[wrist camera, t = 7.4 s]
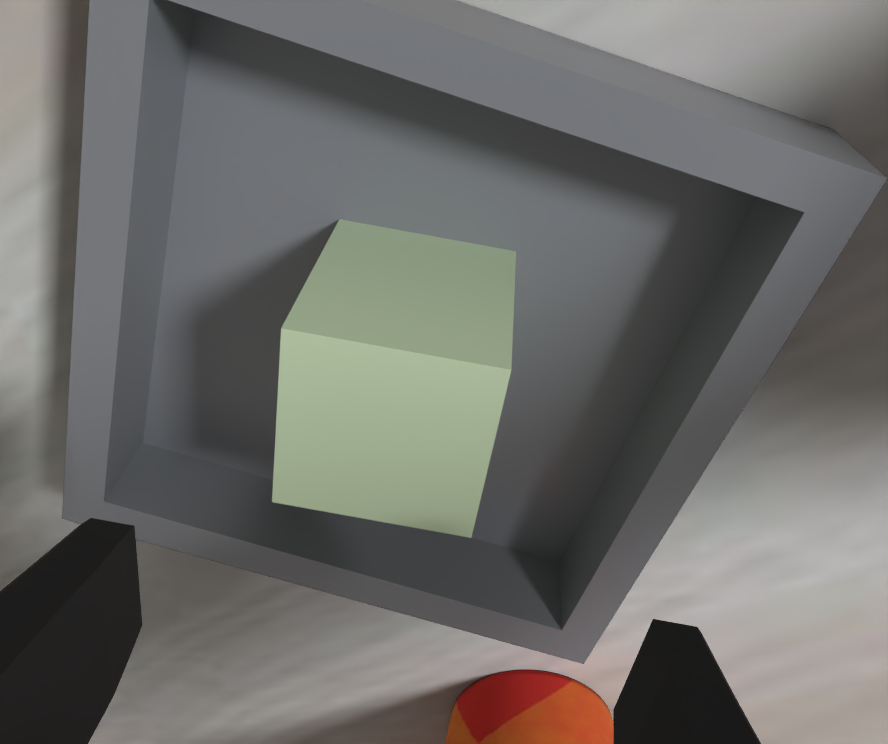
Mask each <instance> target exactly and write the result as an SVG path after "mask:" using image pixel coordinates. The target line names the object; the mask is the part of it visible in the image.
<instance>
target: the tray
mask: <svg viewBox="0 0 888 744" xmlns="http://www.w3.org/2000/svg"><path fill="white" fill-rule="evenodd" d="M886 180H887V178H886V177H885V176H884V175H883V174H882V173H881V172H880V171H879V170H878V169H876V168H875V167H874V166H873V165H872V164H871V163H870V162H869V161H868V160H866V159H865V158H864V157H863V156H862V155H861V154H860V153H859V152H858V151H856V150H855V149H854V148H853V147H852V146H851V145H850V144H849V143H848V142H846V141H845V140H844V139H843V138H842V137H841V136H840V135H839V134H838V133H836V132H835V131H834V130H832V129H829V128H826V127H823V126H821V125H818V124H815V123H812V122H809V121H806V120H803V119H800V118H797V117H794V116H791V115H789V114H786V113H783V112H780V111H777V110H774V109H771V108H768V107H765V106H762V105H759V104H756V103H754V102H751V101H748V100H745V99H742V98H739V97H736V96H733V95H730V94H727V93H724V92H721V91H719V90H716V89H713V88H710V87H707V86H704V85H701V84H698V83H695V82H692V81H689V80H687V79H684V78H681V77H678V76H675V75H672V74H669V73H666V72H663V71H660V70H657V69H654V68H652V67H649V66H646V65H643V64H640V63H637V62H634V61H631V60H628V59H625V58H622V57H619V56H617V55H614V54H611V53H608V52H605V51H602V50H599V49H596V48H593V47H590V46H587V45H585V44H582V43H579V42H576V41H573V40H570V39H567V38H564V37H561V36H558V35H555V34H552V33H550V32H547V31H544V30H541V29H538V28H535V27H532V26H529V25H526V24H523V23H520V22H517V21H515V20H512V19H509V18H506V17H503V16H500V15H497V14H494V13H491V12H488V11H485V10H482V9H480V8H477V7H474V6H471V5H468V4H465V3H462V2H459V1H456V0H89V18H88V37H87V56H86V75H85V94H84V113H83V132H82V151H81V169H80V188H79V207H78V226H77V245H76V264H75V283H74V302H73V320H72V339H71V358H70V377H69V396H68V415H67V434H66V453H65V471H64V490H63V509H62V519H65V520H68V521H72V522H76V523H79V524H82V523H83V522H85V521H87V520H88V519H90V518H95V519H100V520H106V521H111V522H117V523H122V524H128V525H134V526H135V539H137V540H140V541H144V542H147V543H151V544H155V545H158V546H162V547H165V548H169V549H173V550H176V551H180V552H183V553H187V554H191V555H194V556H198V557H201V558H205V559H208V560H212V561H216V562H219V563H223V564H226V565H230V566H234V567H237V568H241V569H244V570H248V571H252V572H255V573H259V574H262V575H266V576H270V577H273V578H277V579H280V580H284V581H288V582H291V583H295V584H298V585H302V586H305V587H309V588H313V589H316V590H320V591H323V592H327V593H331V594H334V595H338V596H341V597H345V598H349V599H352V600H356V601H359V602H363V603H367V604H370V605H374V606H377V607H381V608H384V609H388V610H392V611H395V612H399V613H402V614H406V615H410V616H413V617H417V618H420V619H424V620H428V621H431V622H435V623H438V624H442V625H446V626H449V627H453V628H456V629H460V630H464V631H467V632H471V633H474V634H478V635H481V636H485V637H489V638H492V639H496V640H499V641H503V642H507V643H510V644H514V645H517V646H521V647H525V648H528V649H532V650H535V651H539V652H543V653H546V654H550V655H553V656H557V657H560V658H564V659H568V660H571V661H575V662H578V663H582V664H584V662H585V661H586V659H587V658H588V656H589V654H590V653H591V651H592V650H593V648H594V646H595V645H596V643H597V642H598V640H599V638H600V637H601V635H602V634H603V632H604V630H605V629H606V627H607V626H608V624H609V622H610V621H611V619H612V618H613V616H614V615H615V613H616V611H617V610H618V608H619V607H620V605H621V603H622V602H623V600H624V599H625V597H626V595H627V594H628V592H629V591H630V589H631V587H632V586H633V584H634V583H635V581H636V579H637V578H638V576H639V575H640V573H641V571H642V570H643V568H644V567H645V565H646V563H647V562H648V560H649V559H650V557H651V555H652V554H653V552H654V551H655V549H656V547H657V546H658V544H659V543H660V541H661V539H662V538H663V536H664V535H665V533H666V531H667V530H668V528H669V527H670V525H671V523H672V522H673V520H674V519H675V517H676V515H677V514H678V512H679V511H680V509H681V507H682V506H683V504H684V503H685V501H686V499H687V498H688V496H689V495H690V493H691V491H692V490H693V488H694V487H695V485H696V483H697V482H698V480H699V479H700V477H701V475H702V474H703V472H704V471H705V469H706V467H707V466H708V464H709V463H710V461H711V459H712V458H713V456H714V455H715V453H716V451H717V450H718V448H719V447H720V445H721V443H722V442H723V440H724V439H725V437H726V435H727V434H728V432H729V431H730V429H731V427H732V426H733V424H734V423H735V421H736V419H737V418H738V416H739V415H740V413H741V411H742V410H743V408H744V407H745V405H746V403H747V402H748V400H749V399H750V397H751V395H752V394H753V392H754V391H755V389H756V387H757V386H758V384H759V383H760V381H761V379H762V378H763V376H764V375H765V373H766V371H767V370H768V368H769V367H770V365H771V363H772V362H773V360H774V359H775V357H776V355H777V354H778V352H779V351H780V349H781V347H782V346H783V344H784V343H785V341H786V339H787V338H788V336H789V335H790V333H791V331H792V330H793V328H794V327H795V325H796V323H797V322H798V320H799V319H800V317H801V315H802V314H803V312H804V311H805V309H806V307H807V306H808V304H809V303H810V301H811V299H812V298H813V296H814V295H815V293H816V291H817V290H818V288H819V287H820V285H821V283H822V282H823V280H824V279H825V277H826V275H827V274H828V272H829V271H830V269H831V268H832V266H833V264H834V263H835V261H836V260H837V258H838V256H839V255H840V253H841V252H842V250H843V248H844V247H845V245H846V244H847V242H848V240H849V239H850V237H851V236H852V234H853V232H854V231H855V229H856V228H857V226H858V224H859V223H860V221H861V220H862V218H863V216H864V215H865V213H866V212H867V210H868V208H869V207H870V205H871V204H872V202H873V200H874V199H875V197H876V196H877V194H878V192H879V191H880V189H881V188H882V186H883V184H884V183H885V181H886ZM339 219H341V220H347V221H352V222H358V223H363V224H369V225H374V226H380V227H385V228H391V229H396V230H402V231H407V232H413V233H418V234H424V235H429V236H435V237H440V238H446V239H451V240H457V241H462V242H468V243H473V244H479V245H484V246H490V247H495V248H501V249H506V250H512V251H516V268H515V293H514V318H513V343H512V368H511V374H510V378H509V382H508V386H507V391H506V395H505V399H504V403H503V407H502V412H501V416H500V420H499V424H498V428H497V433H496V437H495V441H494V445H493V449H492V454H491V458H490V462H489V466H488V470H487V475H486V479H485V483H484V487H483V491H482V496H481V500H480V504H479V508H478V512H477V517H476V521H475V525H474V529H473V533H472V538H469V537H463V536H458V535H452V534H447V533H441V532H436V531H430V530H424V529H419V528H413V527H408V526H402V525H397V524H391V523H385V522H380V521H374V520H369V519H363V518H358V517H352V516H346V515H341V514H335V513H330V512H324V511H319V510H313V509H308V508H302V507H296V506H291V505H285V504H280V503H274V502H272V492H273V473H274V454H275V435H276V416H277V397H278V378H279V359H280V340H281V328H282V326H283V324H284V322H285V320H286V318H287V316H288V315H289V313H290V311H291V309H292V307H293V305H294V303H295V301H296V300H297V298H298V296H299V294H300V292H301V290H302V288H303V286H304V285H305V283H306V281H307V279H308V277H309V275H310V273H311V271H312V270H313V268H314V266H315V264H316V262H317V260H318V258H319V256H320V255H321V253H322V251H323V249H324V247H325V245H326V243H327V242H328V240H329V238H330V236H331V234H332V232H333V230H334V228H335V227H336V225H337V223H338V221H339Z"/></svg>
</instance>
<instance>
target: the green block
mask: <svg viewBox="0 0 888 744" xmlns="http://www.w3.org/2000/svg"><path fill="white" fill-rule="evenodd" d="M515 268H516V251H512V250H506V249H501V248H495V247H490V246H484V245H479V244H473V243H468V242H462V241H457V240H451V239H446V238H440V237H435V236H429V235H424V234H418V233H413V232H407V231H402V230H396V229H391V228H385V227H380V226H374V225H369V224H363V223H358V222H352V221H347V220H341V219H339V221H338V223H337V225H336V227H335V228H334V230H333V232H332V234H331V236H330V238H329V240H328V242H327V243H326V245H325V247H324V249H323V251H322V253H321V255H320V256H319V258H318V260H317V262H316V264H315V266H314V268H313V270H312V271H311V273H310V275H309V277H308V279H307V281H306V283H305V285H304V286H303V288H302V290H301V292H300V294H299V296H298V298H297V300H296V301H295V303H294V305H293V307H292V309H291V311H290V313H289V315H288V316H287V318H286V320H285V322H284V324H283V326H282V328H281V340H280V359H279V378H278V397H277V416H276V435H275V454H274V473H273V492H272V502H274V503H280V504H285V505H291V506H296V507H302V508H308V509H313V510H319V511H324V512H330V513H335V514H341V515H346V516H352V517H358V518H363V519H369V520H374V521H380V522H385V523H391V524H397V525H402V526H408V527H413V528H419V529H424V530H430V531H436V532H441V533H447V534H452V535H458V536H463V537H469V538H472V533H473V529H474V525H475V521H476V517H477V512H478V508H479V504H480V500H481V496H482V491H483V487H484V483H485V479H486V475H487V470H488V466H489V462H490V458H491V454H492V449H493V445H494V441H495V437H496V433H497V428H498V424H499V420H500V416H501V412H502V407H503V403H504V399H505V395H506V391H507V386H508V382H509V378H510V374H511V368H512V343H513V318H514V293H515Z"/></svg>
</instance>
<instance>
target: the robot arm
mask: <svg viewBox="0 0 888 744" xmlns="http://www.w3.org/2000/svg"><path fill="white" fill-rule="evenodd" d="M141 627H142V618H141V604H140V591H139V578H138V565H137V552H136V539H135V526H134V525H128V524H122V523H117V522H111V521H106V520H100V519H95V518H90V519H88V520H87V521H85V522H83V523H82V524H81V525H80V526H79V527H77V528H76V529H75V530H74V531H72V532H71V533H70V534H69V535H68V536H66V537H65V538H64V539H63V540H62V541H61V542H59V543H58V544H57V545H56V546H55V547H53V548H52V549H51V550H50V551H49V552H47V553H46V554H45V555H44V556H43V557H41V558H40V559H39V560H38V561H37V562H35V563H34V564H33V565H32V566H31V567H29V568H28V569H27V570H26V571H25V572H23V573H22V574H21V575H20V576H18V577H17V578H16V579H15V580H13V581H12V582H11V583H10V584H9V585H7V586H6V587H5V588H4V589H2V590H1V591H0V744H88V742H89V741H90V739H91V737H92V735H93V733H94V731H95V730H96V728H97V726H98V724H99V722H100V720H101V718H102V717H103V715H104V713H105V711H106V709H107V707H108V705H109V703H110V701H111V700H112V698H113V696H114V693H115V691H116V689H117V686H118V684H119V681H120V679H121V677H122V674H123V672H124V669H125V667H126V665H127V662H128V660H129V657H130V655H131V652H132V649H133V647H134V644H135V642H136V639H137V637H138V634H139V632H140V629H141ZM614 744H761V743H760V741H759V739H758V737H757V736H756V734H755V732H754V730H753V729H752V727H751V725H750V723H749V721H748V719H747V718H746V716H745V714H744V712H743V710H742V708H741V707H740V705H739V703H738V701H737V699H736V698H735V696H734V694H733V692H732V690H731V688H730V686H729V684H728V683H727V681H726V679H725V677H724V675H723V673H722V671H721V669H720V667H719V666H718V664H717V662H716V660H715V658H714V656H713V654H712V652H711V650H710V648H709V646H708V645H707V643H706V641H705V639H704V637H703V635H702V633H701V632H700V630H699V629H698V628H697V627H694V626H689V625H683V624H678V623H672V622H667V621H661V620H656V619H653V621H652V623H651V625H650V627H649V630H648V632H647V634H646V637H645V639H644V641H643V643H642V646H641V648H640V650H639V653H638V655H637V657H636V660H635V662H634V664H633V666H632V669H631V671H630V673H629V676H628V678H627V680H626V683H625V685H624V687H623V689H622V692H621V694H620V696H619V699H618V701H617V703H616V706H615V708H614Z"/></svg>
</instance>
